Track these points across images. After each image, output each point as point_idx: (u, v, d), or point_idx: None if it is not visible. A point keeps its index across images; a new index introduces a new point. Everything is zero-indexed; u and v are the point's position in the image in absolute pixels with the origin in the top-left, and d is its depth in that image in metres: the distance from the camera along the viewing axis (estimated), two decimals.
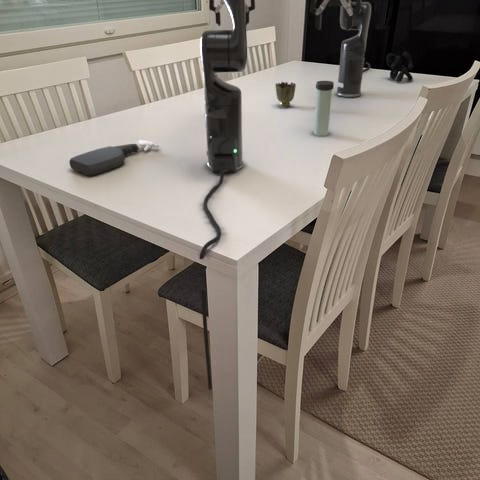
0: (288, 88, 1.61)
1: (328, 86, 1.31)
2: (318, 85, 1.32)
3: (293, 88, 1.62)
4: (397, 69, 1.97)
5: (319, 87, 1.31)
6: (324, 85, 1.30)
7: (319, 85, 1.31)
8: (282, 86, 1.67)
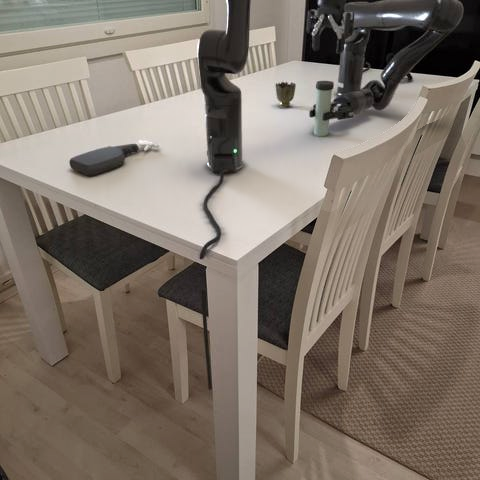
0: (288, 88, 1.61)
1: (328, 86, 1.31)
2: (318, 85, 1.32)
3: (293, 88, 1.62)
4: None
5: (319, 87, 1.31)
6: (324, 85, 1.30)
7: (319, 85, 1.31)
8: (282, 86, 1.67)
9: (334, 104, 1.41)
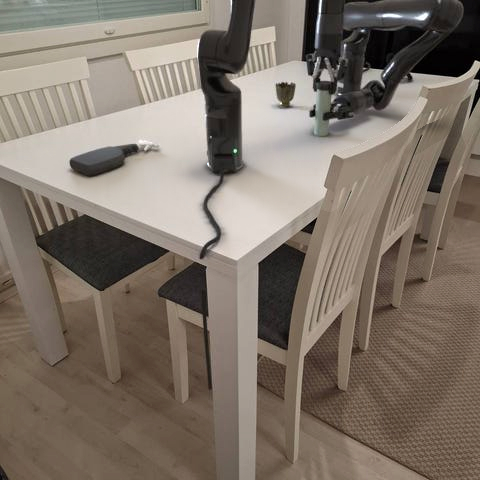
0: (288, 88, 1.61)
1: (328, 86, 1.31)
2: (318, 85, 1.32)
3: (293, 88, 1.62)
4: None
5: (319, 87, 1.31)
6: (324, 85, 1.30)
7: (319, 85, 1.31)
8: (282, 86, 1.67)
9: (334, 104, 1.41)
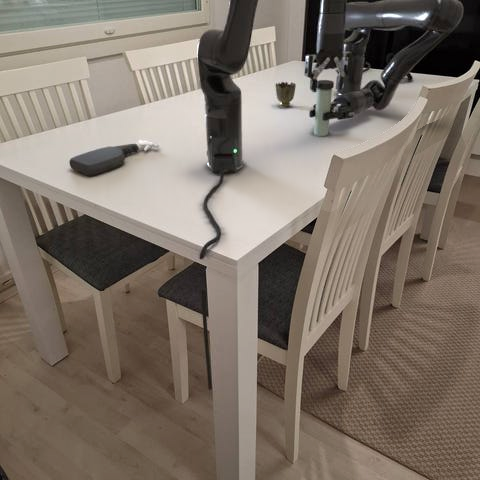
0: (288, 88, 1.61)
1: None
2: (329, 85, 1.31)
3: (293, 88, 1.62)
4: None
5: (330, 86, 1.31)
6: (333, 83, 1.32)
7: (330, 84, 1.31)
8: (282, 86, 1.67)
9: (334, 104, 1.41)
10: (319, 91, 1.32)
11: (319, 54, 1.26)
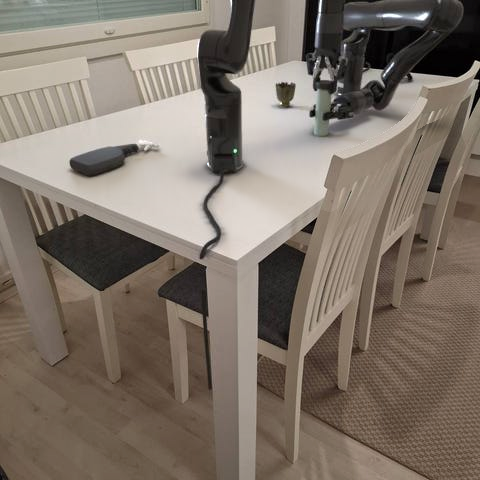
0: (288, 88, 1.61)
1: None
2: (329, 85, 1.31)
3: (293, 88, 1.62)
4: None
5: None
6: None
7: None
8: (282, 86, 1.67)
9: (334, 104, 1.41)
10: (319, 91, 1.32)
11: (315, 51, 1.29)
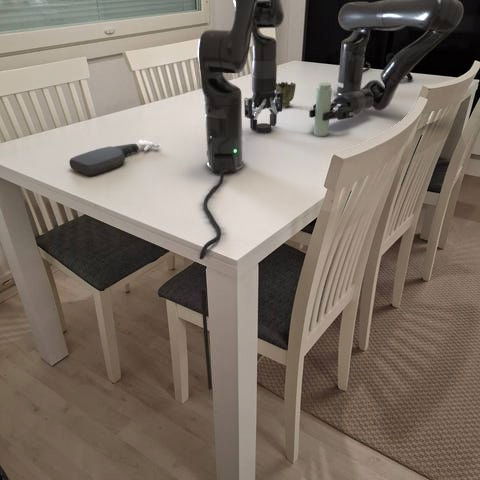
0: (288, 88, 1.61)
1: None
2: None
3: (293, 88, 1.62)
4: None
5: None
6: None
7: None
8: (282, 86, 1.67)
9: (334, 104, 1.41)
10: (319, 91, 1.32)
11: (257, 97, 1.36)
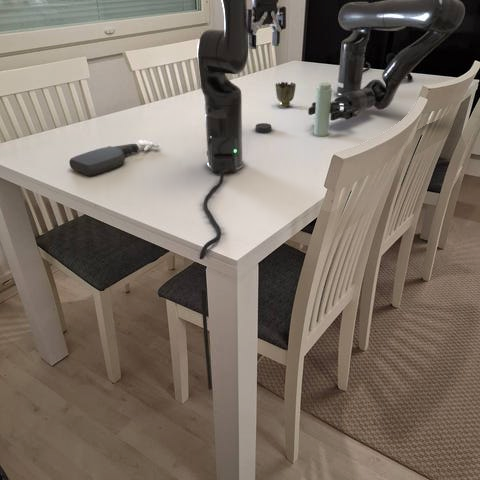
0: (288, 88, 1.61)
1: None
2: None
3: (293, 88, 1.62)
4: None
5: None
6: None
7: None
8: (282, 86, 1.67)
9: (335, 103, 1.42)
10: (319, 91, 1.32)
11: (257, 8, 1.23)
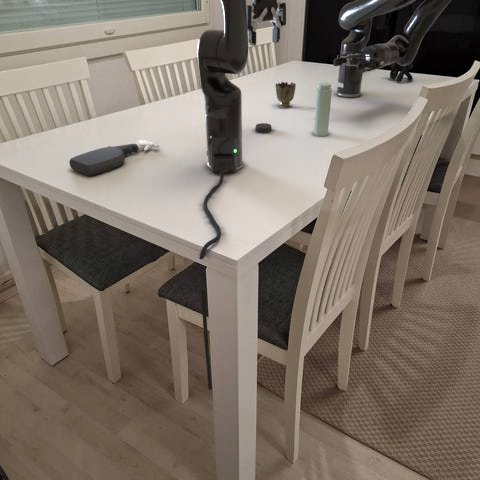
0: (288, 88, 1.61)
1: None
2: None
3: (293, 88, 1.62)
4: (397, 69, 1.97)
5: None
6: None
7: None
8: (282, 86, 1.67)
9: (360, 55, 1.41)
10: (319, 91, 1.32)
11: (257, 5, 1.23)
